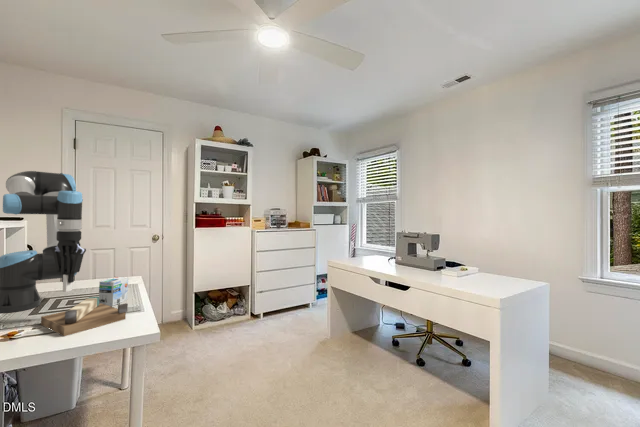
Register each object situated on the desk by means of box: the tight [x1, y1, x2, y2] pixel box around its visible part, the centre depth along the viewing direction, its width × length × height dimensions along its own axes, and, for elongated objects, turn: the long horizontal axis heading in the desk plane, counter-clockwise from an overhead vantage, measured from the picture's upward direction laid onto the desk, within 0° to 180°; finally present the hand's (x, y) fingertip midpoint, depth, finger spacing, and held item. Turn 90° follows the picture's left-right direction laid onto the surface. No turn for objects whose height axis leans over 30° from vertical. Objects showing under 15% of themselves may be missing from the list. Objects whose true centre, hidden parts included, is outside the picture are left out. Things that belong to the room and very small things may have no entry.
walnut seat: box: [40, 302, 128, 337], centre depth 117 cm, size 18×20×6 cm
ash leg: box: [64, 296, 99, 324], centre depth 117 cm, size 21×4×4 cm, turn 16°
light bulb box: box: [98, 276, 129, 307], centre depth 141 cm, size 11×7×11 cm, turn 179°
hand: (67, 290), depth 120 cm, fingers closed
